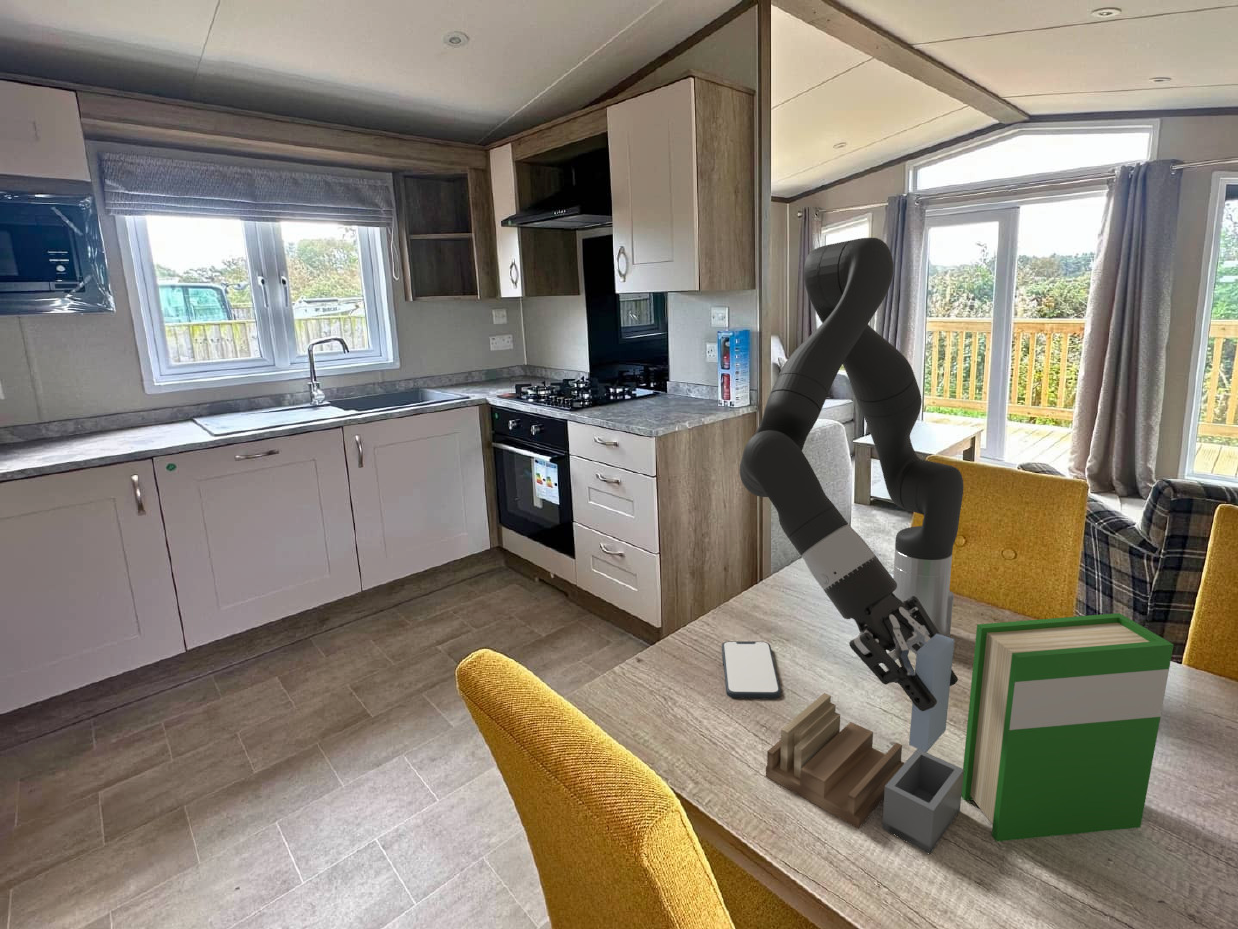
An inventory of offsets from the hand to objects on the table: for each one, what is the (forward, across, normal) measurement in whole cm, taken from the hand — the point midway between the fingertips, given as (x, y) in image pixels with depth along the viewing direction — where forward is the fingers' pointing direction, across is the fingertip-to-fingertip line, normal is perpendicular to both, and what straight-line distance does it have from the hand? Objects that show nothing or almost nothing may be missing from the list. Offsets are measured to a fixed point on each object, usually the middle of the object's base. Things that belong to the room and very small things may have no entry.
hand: (940, 695), depth 76 cm
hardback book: (+19, +12, +6) cm, 23 cm away
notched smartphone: (-12, +13, +38) cm, 42 cm away
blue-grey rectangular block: (+4, 0, +5) cm, 6 cm away
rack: (+4, 0, +21) cm, 22 cm away
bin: (+12, 0, +13) cm, 18 cm away
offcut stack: (0, 0, +23) cm, 23 cm away
